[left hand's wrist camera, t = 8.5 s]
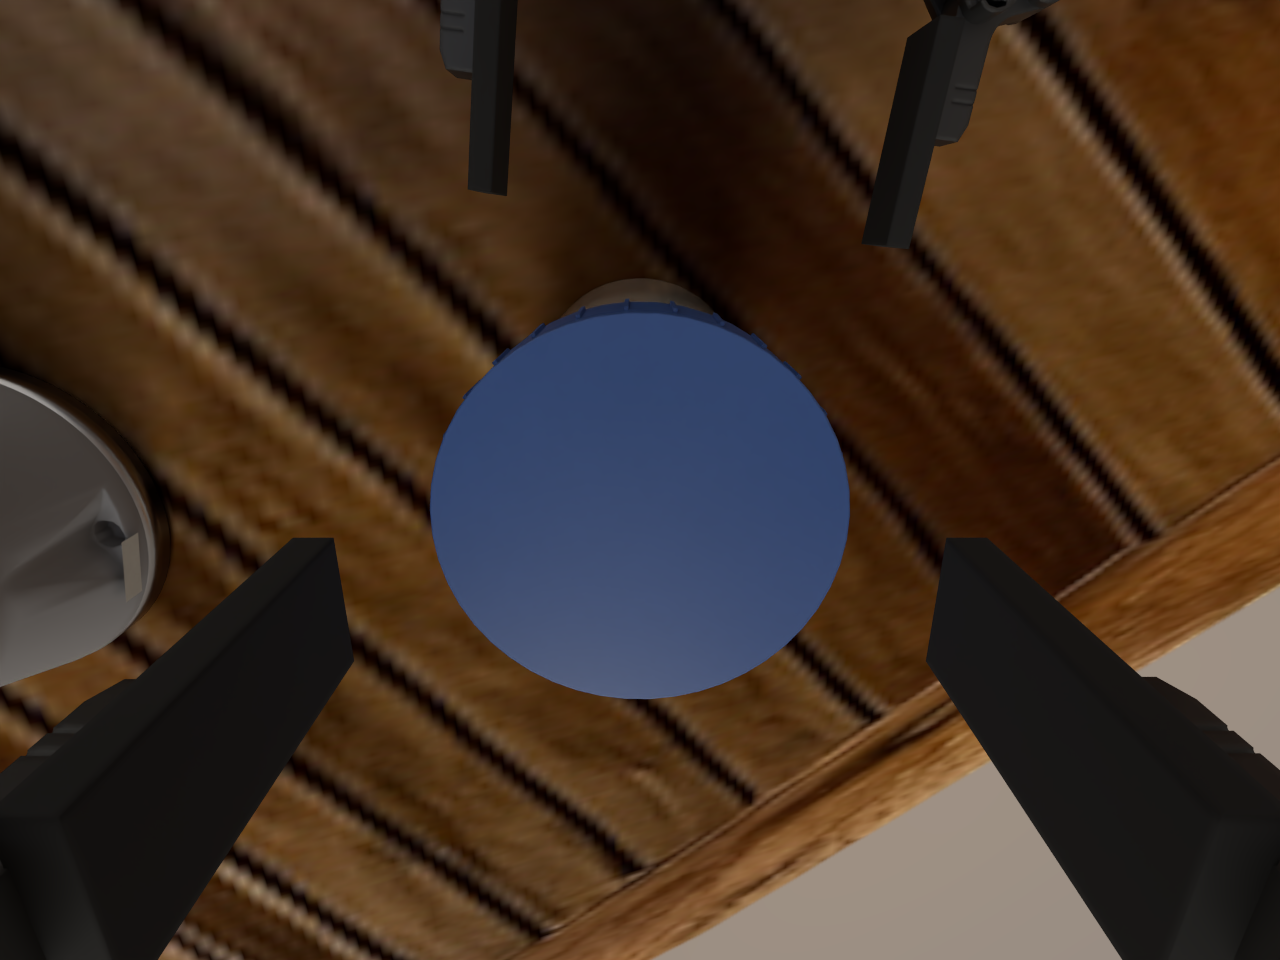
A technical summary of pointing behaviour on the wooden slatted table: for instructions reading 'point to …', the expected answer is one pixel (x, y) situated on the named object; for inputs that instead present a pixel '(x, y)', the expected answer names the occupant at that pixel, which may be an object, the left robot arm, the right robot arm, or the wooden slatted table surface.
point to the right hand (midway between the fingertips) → (688, 221)
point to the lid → (640, 501)
